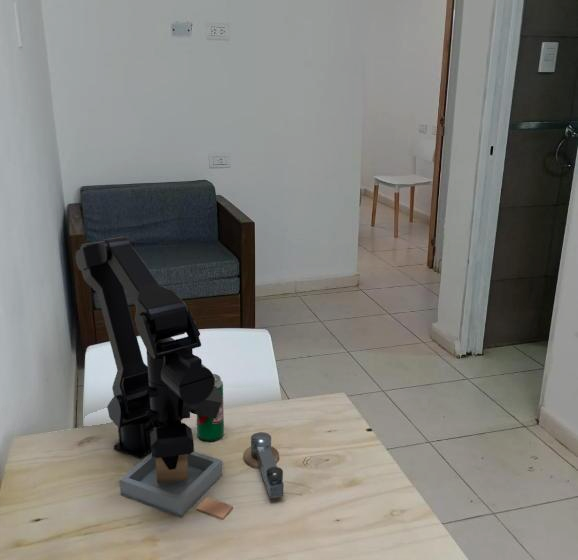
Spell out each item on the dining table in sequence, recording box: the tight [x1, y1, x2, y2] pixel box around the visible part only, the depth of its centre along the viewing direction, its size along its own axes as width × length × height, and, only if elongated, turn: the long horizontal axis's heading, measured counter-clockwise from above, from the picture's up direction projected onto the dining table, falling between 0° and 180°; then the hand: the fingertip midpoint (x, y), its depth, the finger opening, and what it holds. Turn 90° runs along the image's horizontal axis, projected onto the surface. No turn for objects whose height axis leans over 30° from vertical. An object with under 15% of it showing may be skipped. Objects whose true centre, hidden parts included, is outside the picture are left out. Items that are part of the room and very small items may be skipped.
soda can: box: [196, 373, 225, 442], centre depth 116 cm, size 5×5×12 cm
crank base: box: [195, 445, 280, 520], centre depth 105 cm, size 6×20×1 cm, turn 154°
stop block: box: [154, 427, 188, 484], centre depth 102 cm, size 4×5×8 cm
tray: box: [118, 450, 223, 519], centre depth 103 cm, size 12×12×3 cm
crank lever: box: [250, 431, 285, 499], centre depth 105 cm, size 14×4×4 cm, turn 14°
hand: (171, 461), depth 102 cm, fingers closed on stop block, 4 cm apart
